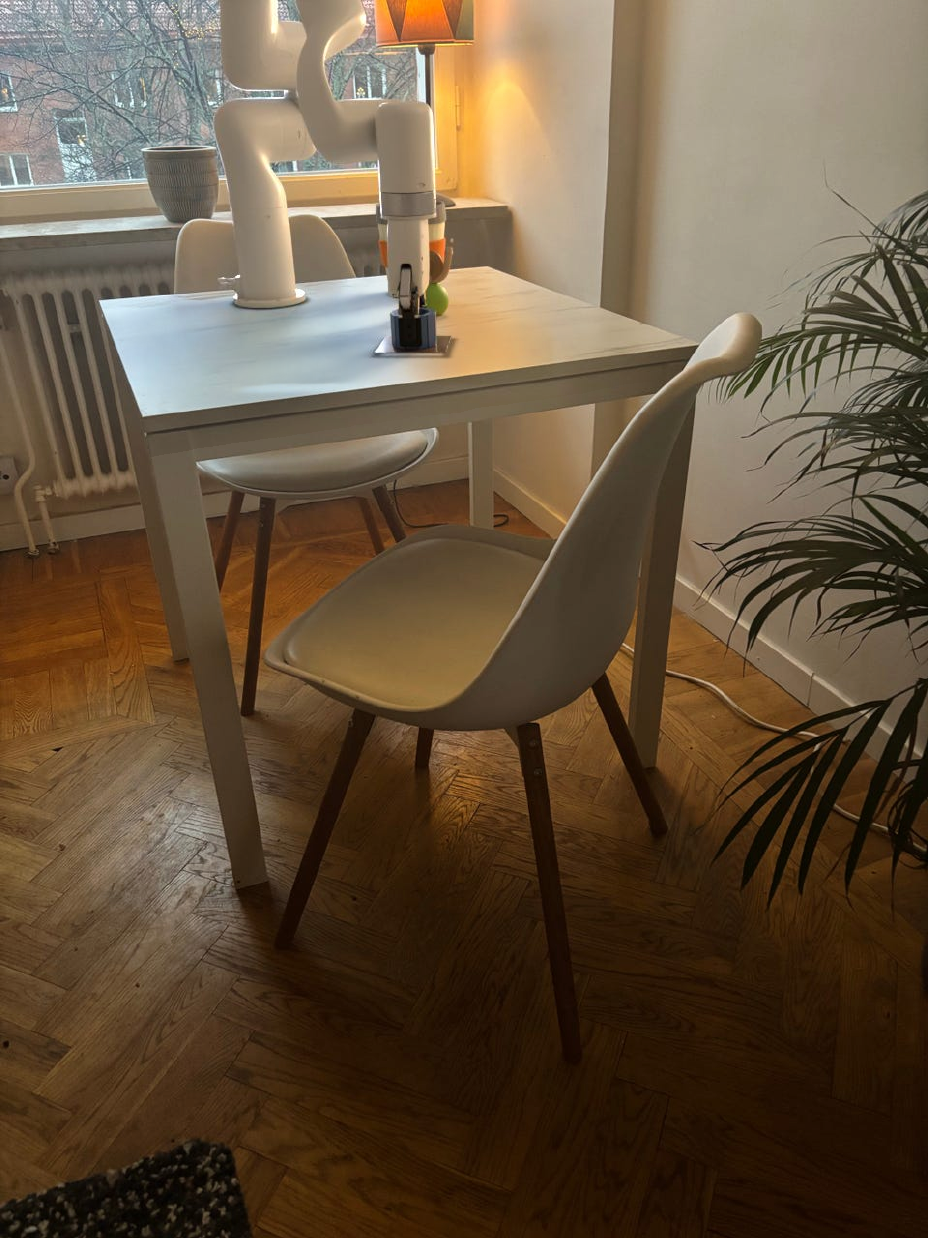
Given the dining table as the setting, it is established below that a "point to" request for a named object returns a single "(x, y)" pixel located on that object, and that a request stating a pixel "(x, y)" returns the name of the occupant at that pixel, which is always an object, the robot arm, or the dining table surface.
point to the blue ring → (427, 328)
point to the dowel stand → (438, 348)
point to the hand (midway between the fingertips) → (414, 339)
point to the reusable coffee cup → (435, 234)
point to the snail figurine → (438, 280)
